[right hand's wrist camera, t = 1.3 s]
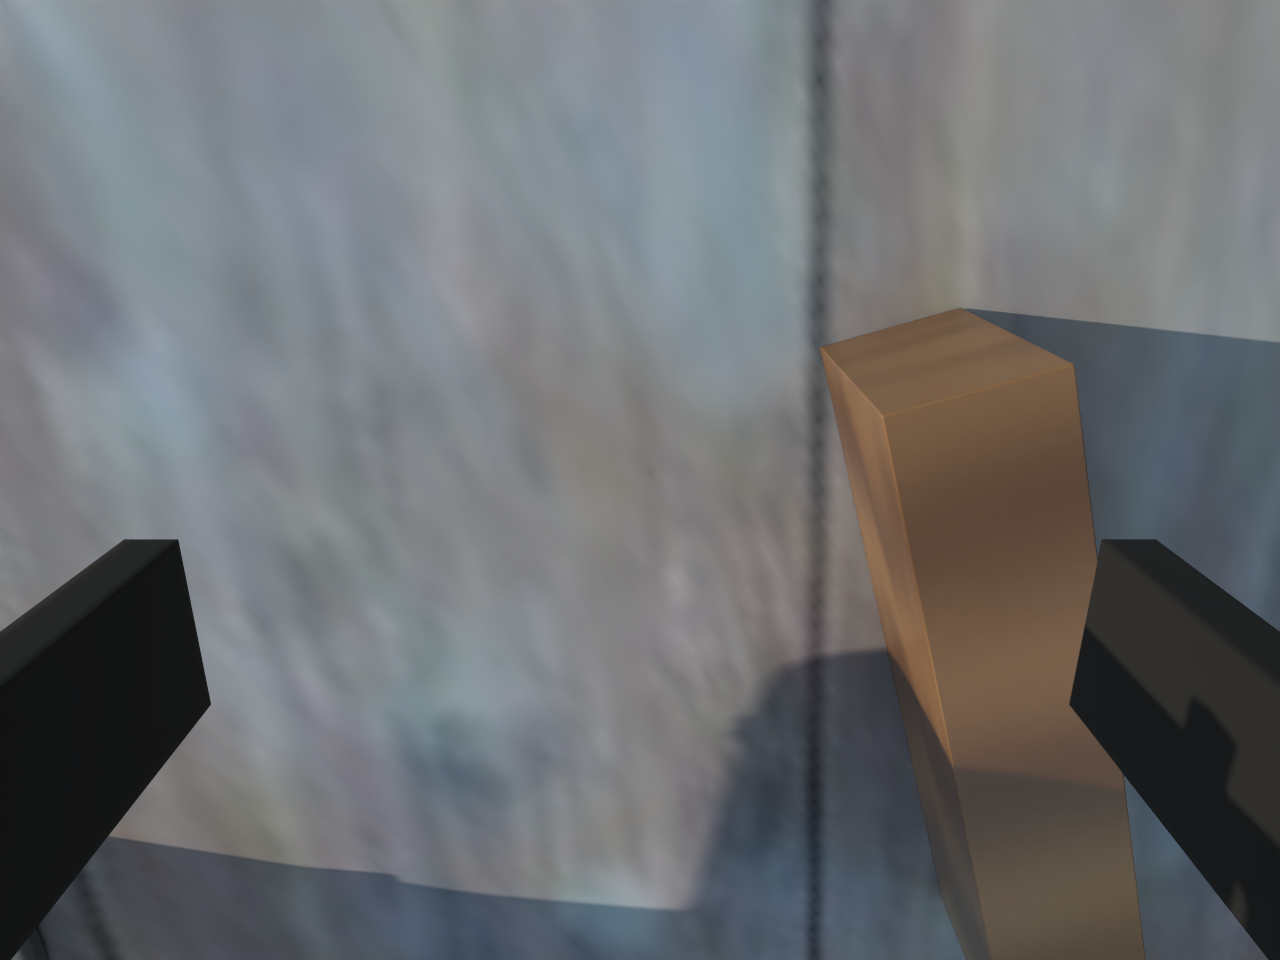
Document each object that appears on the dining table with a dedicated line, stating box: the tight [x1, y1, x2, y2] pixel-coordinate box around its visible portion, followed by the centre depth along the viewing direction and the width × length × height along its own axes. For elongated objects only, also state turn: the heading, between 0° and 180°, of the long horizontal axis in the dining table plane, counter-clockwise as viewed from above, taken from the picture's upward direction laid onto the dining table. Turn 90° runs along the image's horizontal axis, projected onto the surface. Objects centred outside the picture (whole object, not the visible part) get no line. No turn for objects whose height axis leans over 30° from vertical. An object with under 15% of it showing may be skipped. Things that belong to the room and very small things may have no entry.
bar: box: [821, 308, 1145, 960], centre depth 30 cm, size 26×5×8 cm, turn 16°
